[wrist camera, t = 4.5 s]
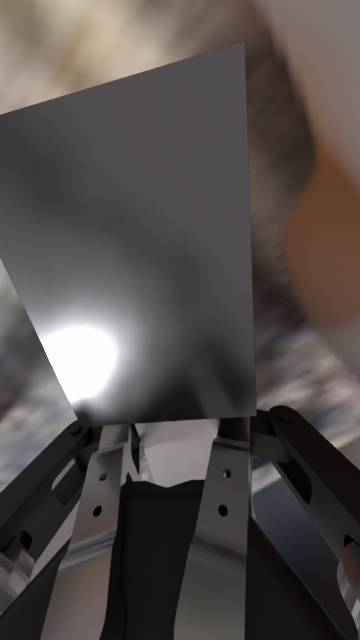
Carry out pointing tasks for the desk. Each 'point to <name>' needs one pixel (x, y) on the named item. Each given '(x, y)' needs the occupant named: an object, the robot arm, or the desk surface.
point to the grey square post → (178, 449)
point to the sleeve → (138, 240)
